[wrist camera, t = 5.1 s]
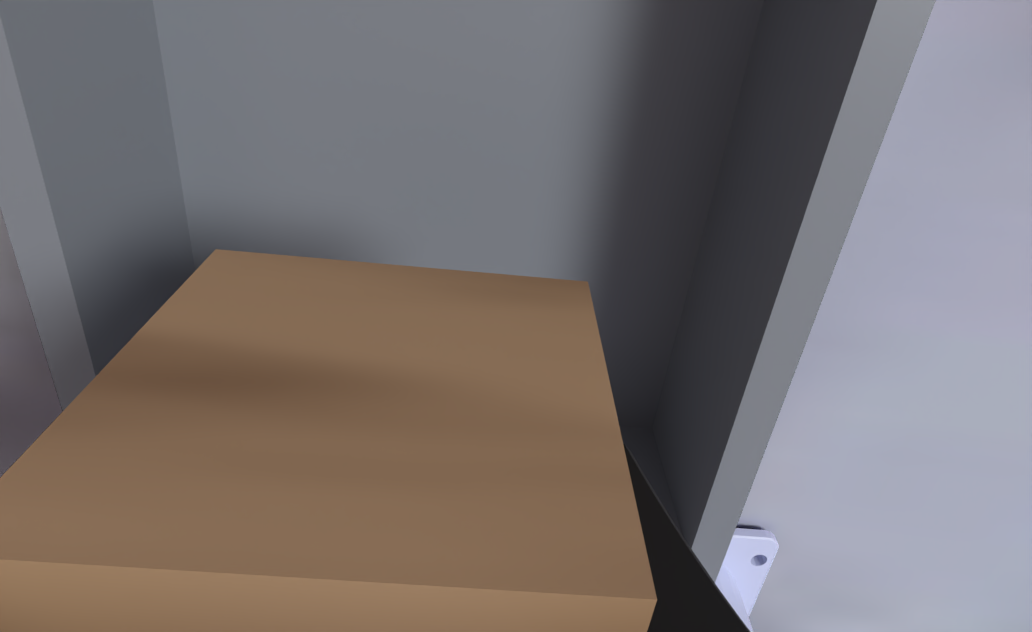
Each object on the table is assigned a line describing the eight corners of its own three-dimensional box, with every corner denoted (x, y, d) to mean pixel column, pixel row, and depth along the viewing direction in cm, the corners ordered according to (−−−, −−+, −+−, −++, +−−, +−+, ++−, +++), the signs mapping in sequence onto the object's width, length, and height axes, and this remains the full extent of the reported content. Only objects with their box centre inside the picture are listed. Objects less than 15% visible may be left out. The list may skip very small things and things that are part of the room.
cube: (544, 535, 12) (563, 897, 7) (253, 516, 11) (90, 880, 7) (587, 281, 9) (657, 599, 5) (215, 249, 9) (-72, 556, 4)
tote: (669, 438, 19) (715, 583, 15) (197, 402, 19) (103, 543, 14) (905, -401, 11) (1173, -627, 6) (34, -530, 10) (-334, -886, 6)
